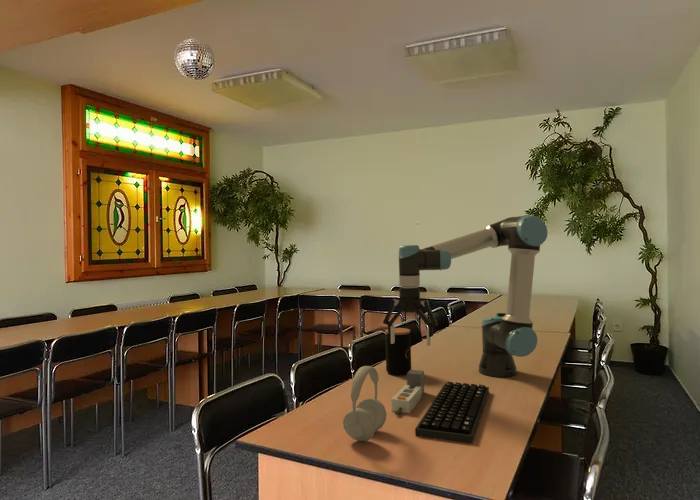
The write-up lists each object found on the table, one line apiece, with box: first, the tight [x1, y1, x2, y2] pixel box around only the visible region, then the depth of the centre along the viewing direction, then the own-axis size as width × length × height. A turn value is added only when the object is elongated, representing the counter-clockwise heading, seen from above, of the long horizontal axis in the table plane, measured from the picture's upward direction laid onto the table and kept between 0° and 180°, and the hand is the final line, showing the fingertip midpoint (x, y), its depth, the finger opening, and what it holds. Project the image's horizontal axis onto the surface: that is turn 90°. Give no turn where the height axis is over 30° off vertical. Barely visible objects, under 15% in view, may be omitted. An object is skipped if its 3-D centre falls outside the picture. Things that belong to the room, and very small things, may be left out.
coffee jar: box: [384, 327, 412, 376], centre depth 199 cm, size 11×11×18 cm
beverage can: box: [495, 312, 506, 317], centre depth 271 cm, size 7×7×12 cm
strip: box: [390, 384, 423, 416], centre depth 158 cm, size 6×20×5 cm, turn 157°
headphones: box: [342, 365, 387, 442], centre depth 135 cm, size 19×9×20 cm, turn 157°
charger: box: [406, 369, 425, 396], centre depth 169 cm, size 5×9×8 cm, turn 157°
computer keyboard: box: [414, 381, 490, 445], centre depth 152 cm, size 45×16×4 cm, turn 158°
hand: (410, 344), depth 173 cm, fingers open, 13 cm apart
